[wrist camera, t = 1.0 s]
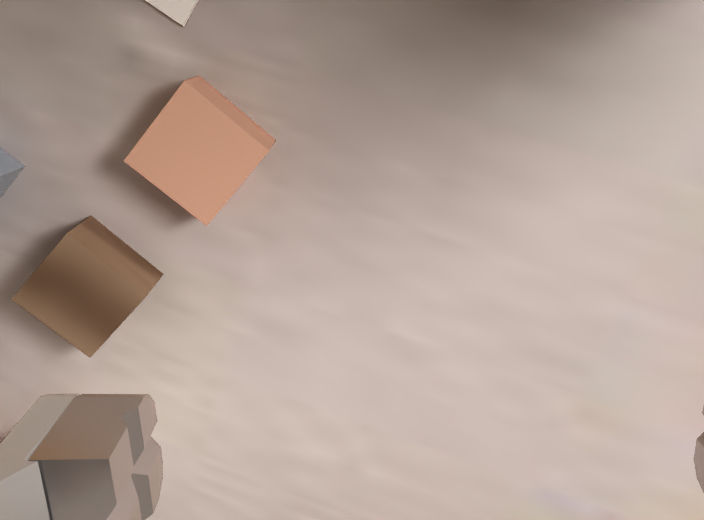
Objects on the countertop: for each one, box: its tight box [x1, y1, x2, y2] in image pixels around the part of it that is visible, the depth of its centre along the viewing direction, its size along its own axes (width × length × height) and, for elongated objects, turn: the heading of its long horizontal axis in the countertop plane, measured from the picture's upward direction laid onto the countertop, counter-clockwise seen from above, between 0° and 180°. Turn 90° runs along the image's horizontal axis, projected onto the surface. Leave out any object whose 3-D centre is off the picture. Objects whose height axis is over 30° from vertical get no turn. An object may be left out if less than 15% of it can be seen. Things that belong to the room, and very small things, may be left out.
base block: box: [12, 216, 163, 357], centre depth 42 cm, size 6×6×4 cm
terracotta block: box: [124, 76, 276, 226], centre depth 39 cm, size 6×6×4 cm
